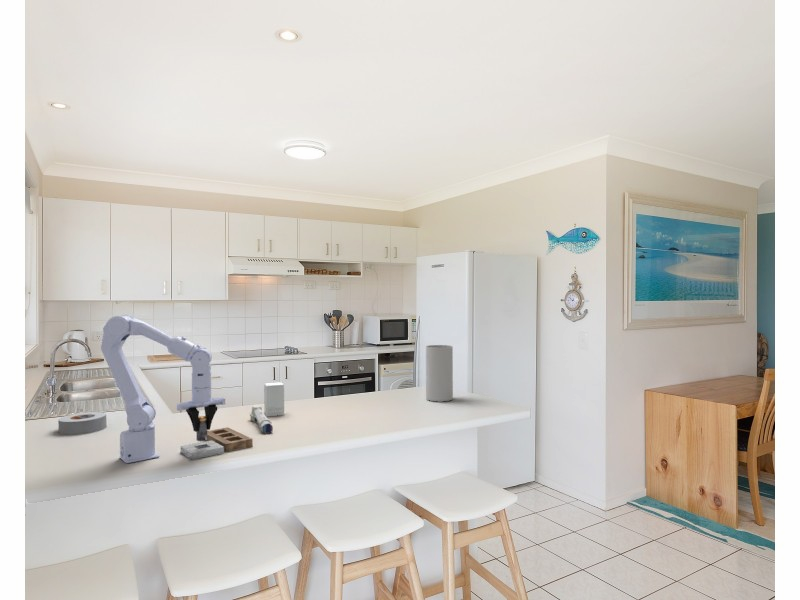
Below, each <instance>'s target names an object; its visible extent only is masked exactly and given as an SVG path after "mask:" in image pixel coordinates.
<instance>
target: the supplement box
mask: <svg viewBox="0 0 800 600" xmlns="http://www.w3.org/2000/svg"><path fill="white" fill-rule="evenodd" d="M263 406H264V407H263V409H264V411H263V413H264V414H265V416H266V417H276V416H277V415H278V416H285V383H282V382H281V381H278V382H269V383H268V382H266V383H263ZM278 416H277V417H278Z"/></svg>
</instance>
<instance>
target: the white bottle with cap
mask: <svg viewBox="0 0 800 600" xmlns="http://www.w3.org/2000/svg"><path fill="white" fill-rule="evenodd" d="M249 417H250V421H251V422H255V423H257V424H258V427H259V428H258V429H259V430H260V431H261V432H262V433H263V434H271V433H272V432H273V428H274V427H273V424H272V423H273V422H272V421H271V420H269V418H268V416H266V415H265V413H264V411H263V407H262V406H261V404H254V405H252V407H251V411H250V412H249Z"/></svg>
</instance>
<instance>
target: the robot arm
mask: <svg viewBox="0 0 800 600" xmlns="http://www.w3.org/2000/svg"><path fill="white" fill-rule="evenodd" d="M102 333H103V334H102V340H101V345H100V350H101V352H102V355H103V357H104V359H105V362H106V363H107V365H108V368H109V370H110V372H111V374H112V376H113V378H114V382H115V383H116V385H117V387H118V390H119V392H120V394H121V397H122V399H123V400H124V405H125V406H124V407H125V408H124V410H125V413H126V423H127V426H128V429H127V430H124V431H123V430H122V431H121V432H120V433H119V459H121V460H122V461H123V462H124V463H125V464H130V463H134V462H140V461H144V460H151V459H154V458H155V459H156V458H159V457H160V454H158V453H157V452H156V434H155V433H156V431H155V430H156V428H155V427H156V426H155V425H156V424H155V423H154V422H153V420H154V419H155V418H156V415H157V414H156V413H157V412H156V409H155V407H154V406H153V405H152V404H150V402H149V401H148V399H147V397H145V396H144V395H143V393H142V391H141V388H140V387H139V384H138V382H137V380H136V378H135V375H134V373H133V371H132V369H131V366H130V364H129V362H128V360H127V358H126V356H125V353H124V351H123V346H124V344H125V343H126V341H127V339H128V338H129V337H130V336H142V337H145V338H147V339H150V340H151V341H153V342H156V343H158V344H160V345H163V346H165V348H166V349H167V351H168V353H170V354H171V355H173V356H175V357H177V358H179V359H180V360H183V361H185V362H190V365H191V367H192V369H191V371H192V372H191V400H189V401H185V402H180V403H176V410H177V411H179V412H181V411H184V410H185V411H186V413H187V415H188V417H189V419H190V421H191V425H192V429H193V432H198V417H199V416H200V415H199V414H200V411H199V410H198V409H199V408H204V416H207V431H210V430H211V426H212V422H213V420H214V417H215V414H216V413H217V411H218V406H219V405H222V406H223V405H226V398H225V397H217V398H215V397H214V398H212V372H211V370H212V367H211V362H212V357H213V356H212V353H211V351H210V350H209V349H207V347H201V344H195V343H193V342H192V341H189V340H188V338H187V336H182V337H181V336H174V337H172V336H171V335H169V334H167V333H165V332H163V331H162V330H160V329H158V328H157V327H154V326H153V325H151V324H149V323H147V322H145V321H143V320H141V319H139V318H134V317H133V316H131V315H128V314H124V315H123V314H122V315H116V316H112V317H110V318H109V319H108V320H107V321H106V323H105V325H104V326H103V327H102Z"/></svg>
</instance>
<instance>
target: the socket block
mask: <svg viewBox="0 0 800 600" xmlns="http://www.w3.org/2000/svg"><path fill="white" fill-rule="evenodd" d="M224 453H225V451H224V447H223V446H221V445H220V444H218V443H216V442H214V441H212V440H211V441H205V440H204V441H199V442H196V443H191V444H186V445H180V454H182V455H184V457H187V458H188V459H190V460H191V461H194V460H198V459H202V458H207V457H213V456H218V455H221V454H224Z"/></svg>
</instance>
